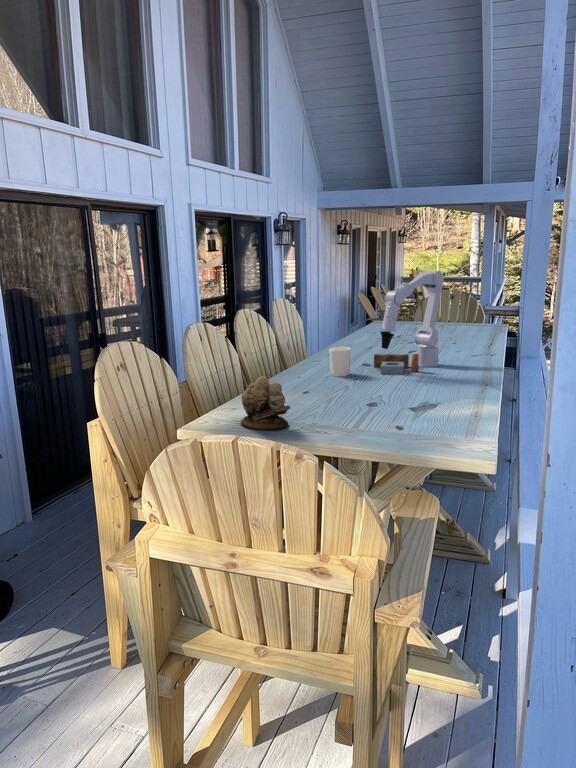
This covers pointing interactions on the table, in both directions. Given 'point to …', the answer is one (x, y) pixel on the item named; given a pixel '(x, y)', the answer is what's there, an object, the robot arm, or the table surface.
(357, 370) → the table surface
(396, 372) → the socket block
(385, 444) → the table surface
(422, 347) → the robot arm
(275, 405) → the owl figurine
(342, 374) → the candle holder
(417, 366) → the dowel
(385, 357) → the walnut wall
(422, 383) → the table surface
